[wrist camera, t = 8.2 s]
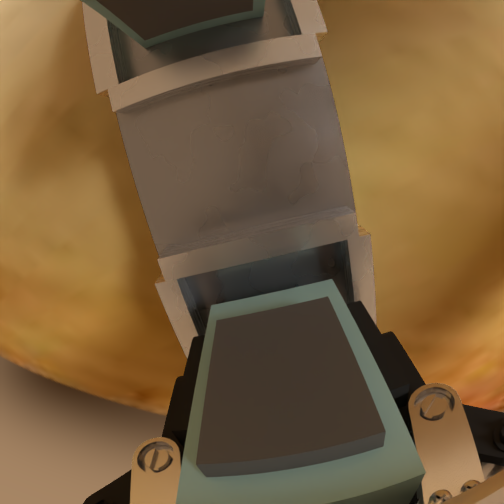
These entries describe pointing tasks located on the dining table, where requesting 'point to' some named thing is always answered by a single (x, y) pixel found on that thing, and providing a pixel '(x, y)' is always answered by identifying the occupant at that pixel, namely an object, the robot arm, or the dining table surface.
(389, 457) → the pale teal block
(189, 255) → the grey compartment tray
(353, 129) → the dining table surface
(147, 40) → the teal rectangular block
